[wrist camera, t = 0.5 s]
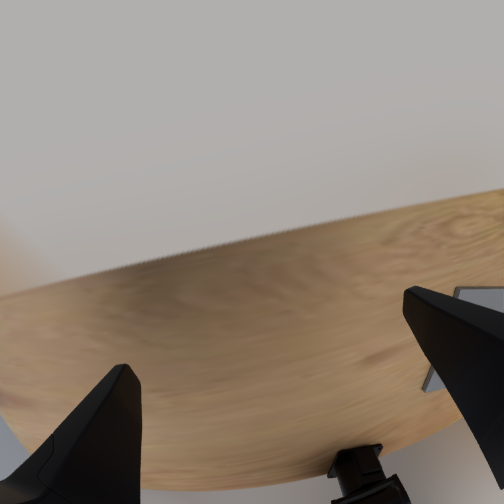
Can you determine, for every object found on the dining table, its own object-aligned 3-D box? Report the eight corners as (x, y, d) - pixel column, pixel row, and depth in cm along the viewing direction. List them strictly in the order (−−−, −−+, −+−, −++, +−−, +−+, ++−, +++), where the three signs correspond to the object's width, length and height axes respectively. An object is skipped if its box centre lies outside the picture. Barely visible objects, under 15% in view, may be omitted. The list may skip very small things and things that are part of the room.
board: (499, 368, 28) (502, 370, 27) (421, 389, 27) (424, 392, 26) (528, 286, 25) (531, 288, 24) (456, 286, 24) (460, 289, 23)
